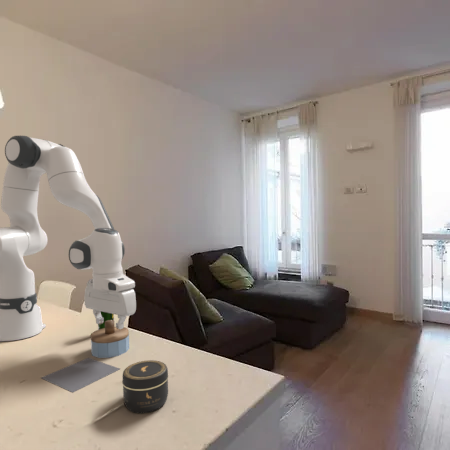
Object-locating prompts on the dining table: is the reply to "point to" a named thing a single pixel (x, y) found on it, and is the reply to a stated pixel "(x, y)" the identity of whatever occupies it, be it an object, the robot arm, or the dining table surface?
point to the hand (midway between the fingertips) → (109, 326)
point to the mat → (80, 374)
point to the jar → (145, 386)
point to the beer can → (105, 319)
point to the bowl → (110, 348)
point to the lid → (109, 333)
